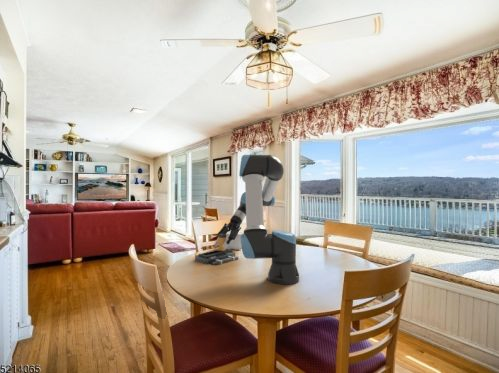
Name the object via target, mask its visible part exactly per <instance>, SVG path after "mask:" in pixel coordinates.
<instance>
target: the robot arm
mask: <svg viewBox="0 0 499 373" xmlns="http://www.w3.org/2000/svg"><path fill="white" fill-rule="evenodd" d="M284 173H285V171H284V165H283V163H282V161H280V158H278V157H276V156H275V155H272V154H251V153H250V154H243V155H242V156H241V159H240V165H239V175H238V176H239V177H241V179H242V181H243V182H244V185H245V188H244V189H245V190H244V191H245V192H243V193H242V194H241V196H240V200H239V201H240V202H239V205H238V207H237V209H235V210H236V211H235V212H234V213H233V215H232V216H231V218H230V220H229V222H228V223H226V222H225V223H224V225H223V226H222V228H221V229H220V230H219V231H218V232H217V234H216V235H217V238H216V240H215V241H214V243H213V245H214V247H215V248H217V247H219V234H226V233H227V232H228V231H231V232H230V235H229V237H228V238H227V239H226V241H225V242H224V244H223V245H222V247H223V248H224V249H225V248H226V247H227V245H228V244H229V243H230V241H231V240H235V238H236V236H237V234H238V232H239V231H241V230H242V227H241V224H242V223H243V221H244V220H245V219H246V227H245V228H244V230H243V232H244V234H241V246H242V249H241V250H242V251H241V252H242V255H243V256H244V258H245V259H253V260H255V259H271V264H270V268H269V270H268V274H267V279H268V280H269V281H270V282H272V283H273V284H279V285H294V284H297V283H298V282H300V273H299V270H298V267H297V262H296V260H297V259H296V258H297V236H296V235H295V234H294V233H292V232H290V231H286V230H285V231H284V230H278V229H276V230H275V229H274V230H272V231H271V233H268V229H267V228H266V227H265V225H264V224H265V221H264V207H273V206H274V205H275V202H276V200H275V193H276V192H275V191H276V189H277V186H278V184H279V181H280V180H282V178H283V175H284ZM263 181H264V184H263ZM262 184H263V186H262Z"/></svg>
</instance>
